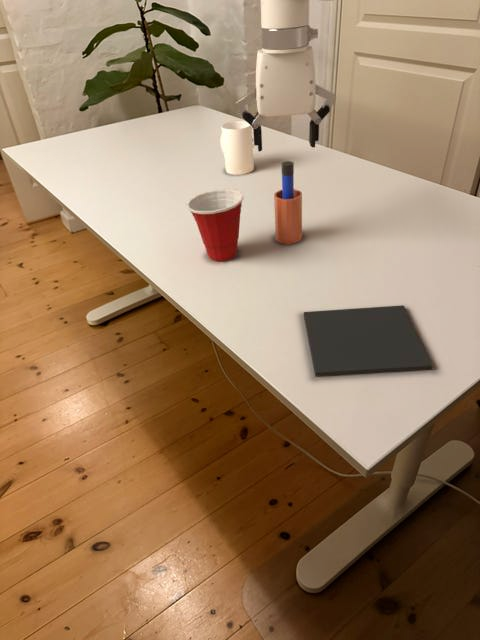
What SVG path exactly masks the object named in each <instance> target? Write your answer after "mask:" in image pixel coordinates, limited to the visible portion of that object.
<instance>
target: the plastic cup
mask: <svg viewBox="0 0 480 640" xmlns="http://www.w3.org/2000/svg"><path fill="white" fill-rule="evenodd" d="M244 198H245V197H244V194H243V192H242V191H240V190H237V189H231V188H219V189H213V190H209V191H208V190H207V191H205V192H202V193H199V194H196V195H195V196H194V197H192V198H190V199H189V200H188V201H187V203H186V208H187V210H188V211H189V212H190V213H191V215H192V217H193V219H194V221H195V223H196V225H197V229H198V231H199V234H200V237H201V240H202V243H203V245H204V247H205V251H206V254H207V256H208V258H209V259H210V260H211V261H214V262H227V261H230V260H232V259H234V258H235V257H236V256H237V252H238V246H239V245H238V244H239V237H240V224H241V213H242V206H243V205H242V204H243V200H244Z"/></svg>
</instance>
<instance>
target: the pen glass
mask: <svg viewBox="0 0 480 640" xmlns="http://www.w3.org/2000/svg"><path fill="white" fill-rule="evenodd" d="M273 200H274V201H273V202H274V203H273V204H274V206H273V207H274V229H275V230H274V231H275V240H276V242H278V243H281V244H285V245H290V244H295V243H299V242H300V241H301V240H302V238H303V193H302V191H300V190H299V189H296V188H294V198H293V199H282V189H280V190H277V191H275V192H274V193H273Z"/></svg>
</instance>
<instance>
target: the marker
mask: <svg viewBox="0 0 480 640" xmlns="http://www.w3.org/2000/svg"><path fill="white" fill-rule="evenodd" d="M294 164H295V163H294V161H291V160H287V161H282V162H281V190H282V199H293V198H294V189H295V188H294V182H295V181H294V173H295V171H294V170H295V169H294V168H295V165H294Z"/></svg>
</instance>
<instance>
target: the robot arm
mask: <svg viewBox="0 0 480 640" xmlns="http://www.w3.org/2000/svg"><path fill="white" fill-rule="evenodd" d="M319 1H320V2H332V1H333V0H319ZM260 21H261V23H260V24H261V25H260V26H261V27H260V28H261V47H262V48H261V49H258V50H257V55H256V63H255V88H253V89H252V90H251V91H250V92H248V93H246V94H245V95H243V96H242V97H240V98H239V99H237V100H236V101H235V105H236V108H237V110H238V112H239V113H240V116H241V117H242V120H243V121H246V122H247V123H249V124H250V125H251V127H252V129H253V130H252V134H253V145H254V146H255V147H257V151H258V152H262V151H263V135H262V134H263V133H262V125H261V124H262V122H263V121H264V119H266V118H269V117H270V118H271V117H288V116H296V115H297V116H299V115H300V116H301V115H308V116H309V118H310V121H309V129H308V130H309V132H308V133H309V135H308V143H309V145H310V147H311V148H316V142H318V141H320V140H319V139H320V138H319V137H320V124H321V123H322V121H323V120H324V118H325V117H327V115H328V114H330V112H331V109H332V107H333V106H334V103H335V101H336V100H337V95H336V94H335V93H334V92H332V91H330V90H329V89H326V88H324V87H322V86H320V85H318V84H316V68H315V67H316V66H315V56H314V50H313V46H311V45H310V42H311V41H312V40H314V39H318V36H319V30H318V28H313V27H311V26H310V25H309V24H310V0H260ZM317 96H319V97H321V98H322V99H325V100H324V103H323V104H322V106H321V107H320V108H319V109H318V110H317V111H316V109H315V108H316V101H317V100H316V99H317ZM253 101H255V104H256V109H257V111H256V113H255V114H254V115H253V114H252V113H251V112H250V111H248V108H247V105H249V104H250V103H252V102H253Z"/></svg>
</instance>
